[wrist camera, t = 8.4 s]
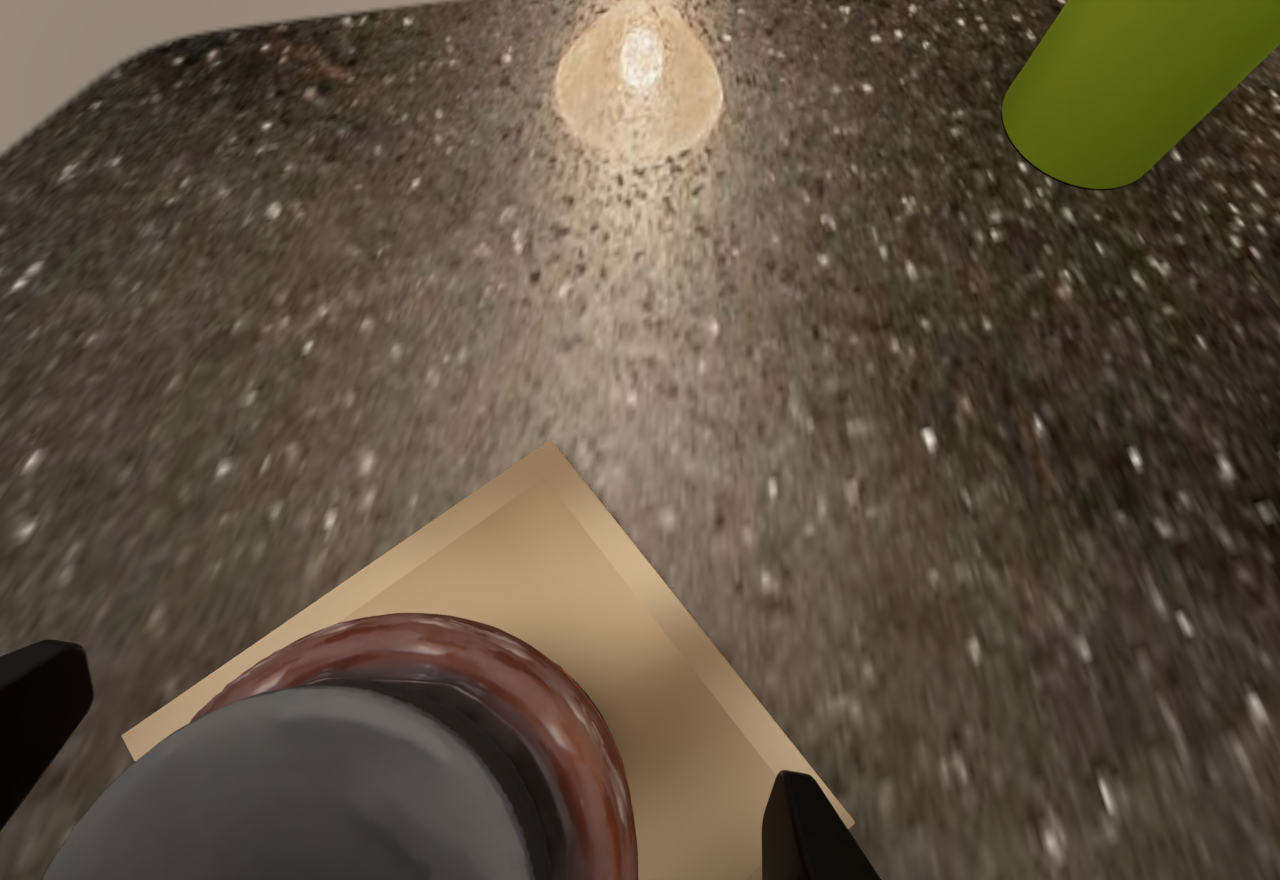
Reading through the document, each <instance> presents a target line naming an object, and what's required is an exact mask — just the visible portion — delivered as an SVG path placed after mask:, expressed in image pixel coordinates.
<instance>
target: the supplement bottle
mask: <svg viewBox="0 0 1280 880" xmlns="http://www.w3.org/2000/svg"><path fill="white" fill-rule="evenodd" d="M42 880H638V848H637V838H636V830H635V822H634V814H633V808H632V803H631V793H630V789H629V785H628V782H627V778H626V773H625V769H624V765H623V762H622V758H621V756H620V754H619V751H618V749H617V747H616V744H615V742H614V739H613V737H612V735H611V733H610V731H609V729H608V726H607V724H606V723H605V721H604V719H603V716H602V714H601V713H600V711H599V710H598V708H597V707H596V705H595V704H594V703H593V701H592V700H591V698H590V697H589V696H588V694H587V693H586V692H585V691H584V690H583V689H582V688H581V687H580V685H579V684H578V683H577V682H576V681H575V680H574V679H573V678H572V677H571V676H569V675H568V673H567V672H565V671H564V670H563V669H562V668H561V667H560V666H559V665H557V664H556V663H555V662H553V661H552V660H550V659H549V658H548V657H547V656H545V655H544V654H543V653H541V652H540V651H538V650H537V649H535V648H534V647H533V646H531V645H529V644H528V643H526V642H524V641H523V640H521V639H519V638H517V637H515V636H513V635H511V634H509V633H507V632H505V631H503V630H501V629H498V628H496V627H493V626H490V625H488V624H484V623H480V622H476V621H472V620H469V619H465V618H459V617H455V616H449V615H441V614H427V613H393V614H386V615H378V616H371V617H364V618H359V619H354V620H351V621H346V622H340V623H337V624H334V625H332V626H329V627H326V628H324V629H321V630H319V631H316V632H314V633H311V634H309V635H307V636H304V637H302V638H300V639H298V640H296V641H295V642H293V643H291V644H289V645H287V646H285V647H284V648H282V649H280V650H278V651H275V652H274V653H272V654H271V655H270V656H268V657H266V658H264V659H263V660H261V661H259V662H258V663H256V664H255V665H254V666H253V667H251V668H250V669H248V670H246V671H245V672H243V673H242V674H241V675H240V676H239V677H237V678H236V679H235V680H233V681H232V682H230V683H229V684H227V685H226V686H225V688H224V689H223V691H222V692H220V693H219V694H217V695H216V696H214V697H213V698H212V699H211V700H210V701H209V702H208V703H207V704H206V705H205V706H204V707H203V708H202V709H201V710H199V711H198V712H197V713H196V715H195V716H194V717H193V718H192V720H191V721H190V723H189V724H187V725H185V726H183V727H182V728H180V729H178V730H176V731H175V732H173V733H172V734H170V735H169V736H168V737H166V738H165V739H163V740H162V741H161V742H159V743H158V744H157V745H155V746H154V747H153V748H152V749H151V750H149V751H148V752H147V753H146V754H145V755H143V756H142V757H141V758H139V759H138V760H137V761H135V762H134V763H133V764H131V765H130V766H129V767H128V768H127V769H126V770H125V771H124V772H123V773H122V774H121V775H120V776H119V777H118V778H117V779H116V780H115V781H114V782H113V783H112V784H110V785H109V786H108V787H107V789H106V790H105V791H104V792H103V793H102V794H101V796H100V797H99V798H98V799H97V800H96V801H95V803H94V804H93V805H92V806H91V807H90V809H89V810H88V811H87V812H86V813H85V814H84V816H83V817H82V818H81V819H80V820H79V821H78V823H77V824H76V825H75V826H74V828H73V830H72V831H71V833H70V835H69V836H68V838H67V839H66V841H65V842H64V844H63V845H62V846H61V848H60V849H59V851H58V852H57V854H56V855H55V857H54V858H53V860H52V862H51V864H50V866H49V868H48V869H47V871H46V873H45V875H44V877H43V879H42Z"/></svg>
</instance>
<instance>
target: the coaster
mask: <svg viewBox="0 0 1280 880" xmlns="http://www.w3.org/2000/svg"><path fill="white" fill-rule="evenodd" d="M393 613H427V614H441V615H449V616H455V617H459V618H465V619H469V620H472V621H476V622H480V623H484V624H488V625H490V626H493V627H496V628H498V629H501V630H503V631H505V632H507V633H509V634H511V635H513V636H515V637H517V638H519V639H521V640H523V641H524V642H526V643H528V644H529V645H531V646H533V647H534V648H535V649H537V650H538V651H540V652H541V653H543V654H544V655H545V656H547V657H548V658H549V659H550V660H552V661H553V662H555V663H556V664H557V665H559V666H560V667H561V668H562V669H563V670H564V671H565V672H567V673H568V675H569V676H571V677H572V678H573V679H574V680H575V681H576V682H577V683H578V684H579V685H580V687H581V688H582V689H583V690H584V691H585V692H586V693H587V694H588V696H589V697H590V698H591V700H592V701H593V703H594V704H595V705H596V707H597V708H598V710H599V711H600V713H601V714H602V716H603V719H604V721H605V723H606V724H607V726H608V729H609V731H610V733H611V735H612V737H613V739H614V742H615V744H616V747H617V749H618V751H619V754H620V756H621V758H622V762H623V765H624V769H625V773H626V778H627V782H628V785H629V789H630V793H631V803H632V808H633V814H634V822H635V830H636V838H637V848H638V880H762V821H763V815H764V811H765V808H766V805H767V802H768V799H769V796H770V794H771V791H772V788H773V785H774V782H775V779H776V776H777V774H778V773H779V772H780V771H781V770H789V771H794V772H800V773H806V774H809V775H811V776H812V777H813V778H814V779H815V780H816V781H817V783H818V785H819V786H820V788H821V789H822V791H823V792H824V794H825V795H826V797H827V798H828V800H829V801H830V803H831V804H832V806H833V807H834V809H835V810H836V812H837V813H838V815H839V816H840V818H841V820H842V821H843V823H844V824H845V826H846V827H847V829H849V828H850V827H851V826H852V825H853V824H854V823H855V821H854V820H853V819H852V818H851V816H850V815H849V814H848V813H847V811H846V810H845V809H844V808H843V806H842V805H841V804H840V803H839V801H838V800H837V799H836V798H835V796H834V795H833V794H832V793H831V791H830V790H829V789H828V788H827V786H826V785H825V784H824V782H823V781H822V780H821V779H820V777H819V776H818V775H817V774H816V772H815V771H814V770H813V769H812V767H811V766H810V765H809V764H808V762H807V761H806V760H805V759H804V757H803V756H802V755H801V754H800V752H799V751H798V750H797V748H796V747H795V746H794V745H793V743H792V742H791V741H790V740H789V738H788V737H787V736H786V735H785V733H784V732H783V731H782V730H781V728H780V727H779V726H778V725H777V723H776V722H775V721H774V720H773V718H772V717H771V716H770V715H769V713H768V712H767V711H766V709H765V708H764V707H763V706H762V704H761V703H760V702H759V701H758V699H757V698H756V697H755V696H754V694H753V693H752V692H751V691H750V689H749V688H748V687H747V686H746V684H745V683H744V682H743V681H742V679H741V678H740V677H739V676H738V674H737V673H736V672H735V670H734V669H733V668H732V667H731V665H730V664H729V663H728V662H727V660H726V659H725V658H724V657H723V655H722V654H721V653H720V652H719V650H718V649H717V648H716V647H715V645H714V644H713V643H712V642H711V640H710V639H709V638H708V637H707V635H706V634H705V633H704V631H703V630H702V629H701V628H700V626H699V625H698V624H697V623H696V621H695V620H694V619H693V618H692V616H691V615H690V614H689V613H688V611H687V610H686V609H685V608H684V606H683V605H682V604H681V603H680V601H679V600H678V599H677V598H676V596H675V595H674V594H673V592H672V591H671V590H670V589H669V587H668V586H667V585H666V584H665V582H664V581H663V580H662V579H661V577H660V576H659V575H658V574H657V572H656V571H655V570H654V569H653V567H652V566H651V565H650V564H649V562H648V561H647V560H646V558H645V557H644V556H643V555H642V553H641V552H640V551H639V550H638V548H637V547H636V546H635V545H634V543H633V542H632V541H631V540H630V538H629V537H628V536H627V535H626V533H625V532H624V531H623V530H622V528H621V527H620V526H619V525H618V523H617V522H616V521H615V519H614V518H613V517H612V516H611V514H610V513H609V512H608V511H607V509H606V508H605V507H604V506H603V504H602V503H601V502H600V501H599V499H598V498H597V497H596V496H595V494H594V493H593V492H592V491H591V489H590V488H589V487H588V486H587V484H586V483H585V482H584V480H583V479H582V478H581V477H580V475H579V474H578V473H577V472H576V470H575V469H574V468H573V467H572V465H571V464H570V463H569V462H568V460H567V459H566V458H565V457H564V455H563V454H562V453H561V452H560V450H559V449H558V448H557V447H556V445H555V444H554V443H553V441H552V440H551V439H550V440H549V441H547V442H546V443H544V444H543V445H542V446H540V447H539V448H537V449H536V450H534V451H533V452H531V453H530V454H529V455H527V456H526V457H524V458H523V459H521V460H520V461H518V462H517V463H515V464H514V465H513V466H511V467H510V468H508V469H507V470H505V471H504V472H502V473H501V474H500V475H498V476H497V477H495V478H494V479H492V480H491V481H489V482H488V483H487V484H485V485H484V486H482V487H481V488H479V489H478V490H476V491H475V492H473V493H472V494H471V495H469V496H468V497H466V498H465V499H463V500H462V501H460V502H459V503H458V504H456V505H455V506H453V507H452V508H450V509H449V510H447V511H446V512H445V513H443V514H442V515H440V516H439V517H437V518H436V519H434V520H433V521H432V522H430V523H429V524H427V525H426V526H424V527H423V528H421V529H420V530H418V531H417V532H416V533H414V534H413V535H411V536H410V537H408V538H407V539H405V540H404V541H403V542H401V543H400V544H398V545H397V546H395V547H394V548H392V549H391V550H390V551H388V552H387V553H385V554H384V555H382V556H381V557H379V558H378V559H377V560H375V561H374V562H372V563H371V564H369V565H368V566H366V567H365V568H363V569H362V570H361V571H359V572H358V573H356V574H355V575H353V576H352V577H350V578H349V579H348V580H346V581H345V582H343V583H342V584H340V585H339V586H337V587H336V588H335V589H333V590H332V591H330V592H329V593H327V594H326V595H324V596H323V597H321V598H320V599H319V600H317V601H316V602H314V603H313V604H311V605H310V606H308V607H307V608H306V609H304V610H303V611H301V612H300V613H298V614H297V615H295V616H294V617H293V618H291V619H290V620H288V621H287V622H285V623H284V624H282V625H281V626H280V627H278V628H277V629H275V630H274V631H272V632H271V633H269V634H268V635H266V636H265V637H264V638H262V639H261V640H259V641H258V642H256V643H255V644H253V645H252V646H251V647H249V648H248V649H246V650H245V651H243V652H242V653H240V654H239V655H238V656H236V657H235V658H233V659H232V660H230V661H229V662H227V663H226V664H225V665H223V666H222V667H220V668H219V669H217V670H216V671H214V672H213V673H211V674H210V675H209V676H207V677H206V678H204V679H203V680H201V681H200V682H198V683H197V684H196V685H194V686H193V687H191V688H190V689H188V690H187V691H185V692H184V693H183V694H181V695H180V696H178V697H177V698H175V699H174V700H172V701H171V702H169V703H168V704H167V705H165V706H164V707H162V708H161V709H159V710H158V711H156V712H155V713H154V714H152V715H151V716H149V717H148V718H146V719H145V720H143V721H142V722H141V723H139V724H138V725H136V726H135V727H133V728H132V729H130V730H129V731H128V732H126V733H125V734H123V735H122V738H123V740H124V742H125V744H126V746H127V748H128V749H129V751H130V753H131V755H132V757H133V759H134V761H137V760H138V759H139V758H141V757H142V756H143V755H145V754H146V753H147V752H148V751H149V750H151V749H152V748H153V747H154V746H155V745H157V744H158V743H159V742H161V741H162V740H163V739H165V738H166V737H168V736H169V735H170V734H172V733H173V732H175V731H176V730H178V729H180V728H182V727H183V726H185V725H187V724H189V723H190V721H191V720H192V718H193V717H194V716H195V715H196V713H197V712H198V711H199V710H201V709H202V708H203V707H204V706H205V705H206V704H207V703H208V702H209V701H210V700H211V699H212V698H213V697H214V696H216V695H217V694H219V693H220V692H222V691H223V689H224V688H225V686H226V685H227V684H229V683H230V682H232V681H233V680H235V679H236V678H237V677H239V676H240V675H241V674H242V673H243V672H245V671H246V670H248V669H250V668H251V667H253V666H254V665H255V664H256V663H258V662H259V661H261V660H263V659H264V658H266V657H268V656H270V655H271V654H272V653H274V652H275V651H278V650H280V649H282V648H284V647H285V646H287V645H289V644H291V643H293V642H295V641H296V640H298V639H300V638H302V637H304V636H307V635H309V634H311V633H314V632H316V631H319V630H321V629H324V628H326V627H329V626H332V625H334V624H337V623H340V622H346V621H351V620H354V619H359V618H364V617H371V616H378V615H386V614H393Z"/></svg>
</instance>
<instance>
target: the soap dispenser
mask: <svg viewBox="0 0 1280 880" xmlns="http://www.w3.org/2000/svg"><path fill="white" fill-rule="evenodd" d="M1279 44H1280V0H1068V2H1067V3H1066V5H1065V6H1064V7H1063V9H1062V10H1061V12H1060V13H1059V15H1058V16H1057V18H1056V19H1055V21H1054V22H1053V24H1052V25H1051V27H1050V28H1049V30H1048V31H1047V33H1046V34H1045V36H1044V37H1043V39H1042V40H1041V42H1040V43H1039V45H1038V46H1037V48H1036V49H1035V50H1034V52H1033V53H1032V55H1031V56H1030V58H1029V59H1028V61H1027V62H1026V64H1025V65H1024V67H1023V68H1022V70H1021V71H1020V73H1019V74H1018V76H1017V77H1016V79H1015V80H1014V82H1013V83H1012V85H1011V86H1010V88H1009V89H1008V91H1007V93H1006V95H1005V97H1004V100H1003V104H1002V119H1003V124H1004V127H1005V130H1006V132H1007V134H1008V136H1009V138H1010V140H1011V141H1012V143H1013V144H1014V146H1015V147H1016V148H1017V150H1018V151H1019V152H1020V153H1021V154H1022V155H1023V156H1024V157H1025V158H1026V159H1027V160H1028V161H1029V162H1030V163H1031V164H1033V165H1034V166H1035V167H1037V168H1038V169H1040V170H1041V171H1043V172H1044V173H1046V174H1048V175H1050V176H1051V177H1053V178H1056V179H1058V180H1060V181H1063V182H1065V183H1068V184H1071V185H1075V186H1079V187H1084V188H1090V189H1112V188H1118V187H1122V186H1125V185H1128V184H1130V183H1132V182H1134V181H1136V180H1138V179H1139V178H1141V177H1142V176H1143V175H1144V174H1145V173H1146V172H1148V171H1149V170H1150V169H1151V168H1152V167H1153V166H1154V165H1155V164H1156V163H1157V162H1158V161H1159V160H1160V159H1161V158H1162V157H1163V156H1164V155H1165V154H1166V153H1167V152H1168V151H1169V150H1170V149H1171V148H1172V147H1173V146H1175V145H1176V144H1177V143H1178V142H1179V141H1180V140H1181V139H1182V138H1183V137H1184V136H1185V135H1186V134H1187V133H1188V132H1189V131H1190V130H1191V129H1192V128H1193V127H1194V126H1195V125H1196V124H1197V123H1198V122H1199V121H1200V120H1201V119H1203V118H1204V117H1205V116H1206V115H1207V114H1208V113H1209V112H1210V111H1211V110H1212V109H1213V108H1214V107H1215V106H1216V105H1217V104H1218V103H1219V102H1220V101H1221V100H1222V99H1223V98H1224V97H1225V96H1226V95H1227V94H1228V93H1230V92H1231V91H1232V90H1233V89H1234V88H1235V87H1236V86H1237V85H1238V84H1239V83H1240V82H1241V81H1242V80H1243V79H1244V78H1245V77H1246V76H1247V75H1248V74H1249V73H1250V72H1251V71H1252V70H1253V69H1254V68H1255V67H1257V66H1258V65H1259V64H1260V63H1261V62H1262V61H1263V60H1264V59H1265V58H1266V57H1267V56H1268V55H1269V54H1270V53H1271V52H1272V51H1273V50H1274V49H1275V48H1276V47H1277V46H1278V45H1279Z"/></svg>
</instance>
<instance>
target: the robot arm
mask: <svg viewBox="0 0 1280 880" xmlns="http://www.w3.org/2000/svg"><path fill="white" fill-rule="evenodd" d="M93 699H94V687H93V682H92V678H91V673H90V668H89V663H88V658H87V654H86V651H85V649H84V648H83V647H82V646H81V645H79V644H75V643H70V642H64V641H58V640H43V641H40V642H37V643H34V644H32V645H29V646H27V647H24V648H21V649H19V650H16V651H14V652H11V653H9V654H6V655H3V656H1V657H0V831H1V830H2V828H3V827H4V826H5V824H6V823H7V822H8V821H9V819H10V818H11V817H12V815H13V814H14V813H15V811H16V810H17V809H18V807H19V806H20V805H21V803H22V802H23V801H24V799H25V798H26V797H27V795H28V794H29V792H30V791H31V790H32V788H33V787H34V786H35V784H36V783H37V781H38V780H39V779H40V777H41V776H42V775H43V773H44V772H45V770H46V769H47V768H48V766H49V765H50V764H51V762H52V761H53V760H54V758H55V757H56V755H57V754H58V753H59V751H60V750H61V749H62V747H63V746H64V744H65V743H66V742H67V740H68V739H69V738H70V736H71V735H72V733H73V732H74V731H75V729H76V728H77V727H78V725H79V724H80V723H81V721H82V720H83V718H84V717H85V716H86V714H87V713H88V711H89V709H90V707H91V705H92V702H93ZM762 880H881V879H880V877H879V876H878V874H877V873H876V871H875V870H874V868H873V867H872V865H871V864H870V862H869V861H868V859H867V858H866V856H865V854H864V853H863V851H862V850H861V848H860V847H859V845H858V844H857V842H856V841H855V839H854V838H853V836H852V835H851V833H850V832H849V830H848V829H847V827H846V826H845V824H844V823H843V821H842V820H841V818H840V816H839V815H838V813H837V812H836V810H835V809H834V807H833V806H832V804H831V803H830V801H829V800H828V798H827V797H826V795H825V794H824V792H823V791H822V789H821V788H820V786H819V785H818V783H817V781H816V780H815V779H814V778H813V777H812V776H811V775H809V774H806V773H800V772H794V771H789V770H781V771H780V772H779V773H778V774H777V776H776V779H775V782H774V785H773V788H772V791H771V794H770V796H769V799H768V802H767V805H766V808H765V811H764V815H763V821H762Z"/></svg>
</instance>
